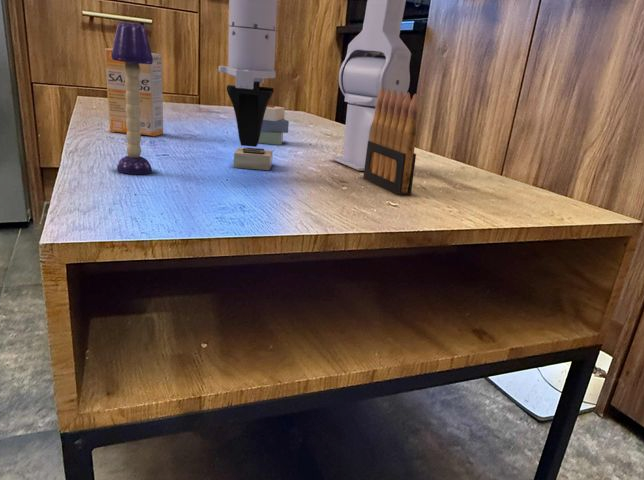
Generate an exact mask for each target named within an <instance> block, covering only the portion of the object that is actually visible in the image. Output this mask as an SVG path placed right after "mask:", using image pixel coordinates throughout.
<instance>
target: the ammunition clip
mask: <svg viewBox="0 0 644 480" xmlns="http://www.w3.org/2000/svg"><path fill="white" fill-rule="evenodd" d="M418 114H419V97H418V94H417V93H414V94H413V96H412V98H411V94H410V92H409V91H407V94H406V95H405V97H403V92H402V91H400V93H399V95H398V97H397V93H396V90H394V91H393V92H392V95H391V94H390V89H387V91H386V93H384V89H383V87H382V88H381V89H380V92H379V94H378V98H377V102H376V109H375V114H374V118H373V121H372V129H371V137H370V141H368V145H367V152H366V160H365V168H364V171H363V176H362V177H363V179H365V180H366V181H368V182H370V183H372V184H375V185H376V186H379V187H380V188H382V189H385V190H387V191H388V192H391V193H393V194H395V195H398V196H411V195H412V191H413V190H412V189H413V182H414V173H415V166H416V159H417V153H415V149H416V141H417V136H418V135H417V133H418V125H417V124H418Z"/></svg>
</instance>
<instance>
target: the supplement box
mask: <svg viewBox="0 0 644 480" xmlns="http://www.w3.org/2000/svg"><path fill="white" fill-rule="evenodd" d="M112 49H113V48H104V59H105V74H106V75H105V76H106V88H107V89H106V90H107V91H106V92H107V105H108V123H109V131H110V132H114V133H120V134H127V131H128V129H127V127H126V120H127V114H126V105H127V101H126V91H127V89H126V86H125V79H126V76H127V75H126V73H125V63H126V62H122V61H116V60H113V59H112V56H111V55H112ZM151 54H152V58H153V63H152V64H139V66H140V75H139V79H140V89H139V93H140V97H141V100H140V103H139V105H140V108H141V115H140V117H139V119H140V121H141V129H140V131H139V132H140V134H141V136H147V137H157V136H160V135H163V134H164V105H163V104H164V102H163V63H162V60H163V59H162V54H161V53H154V52H151Z"/></svg>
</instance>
